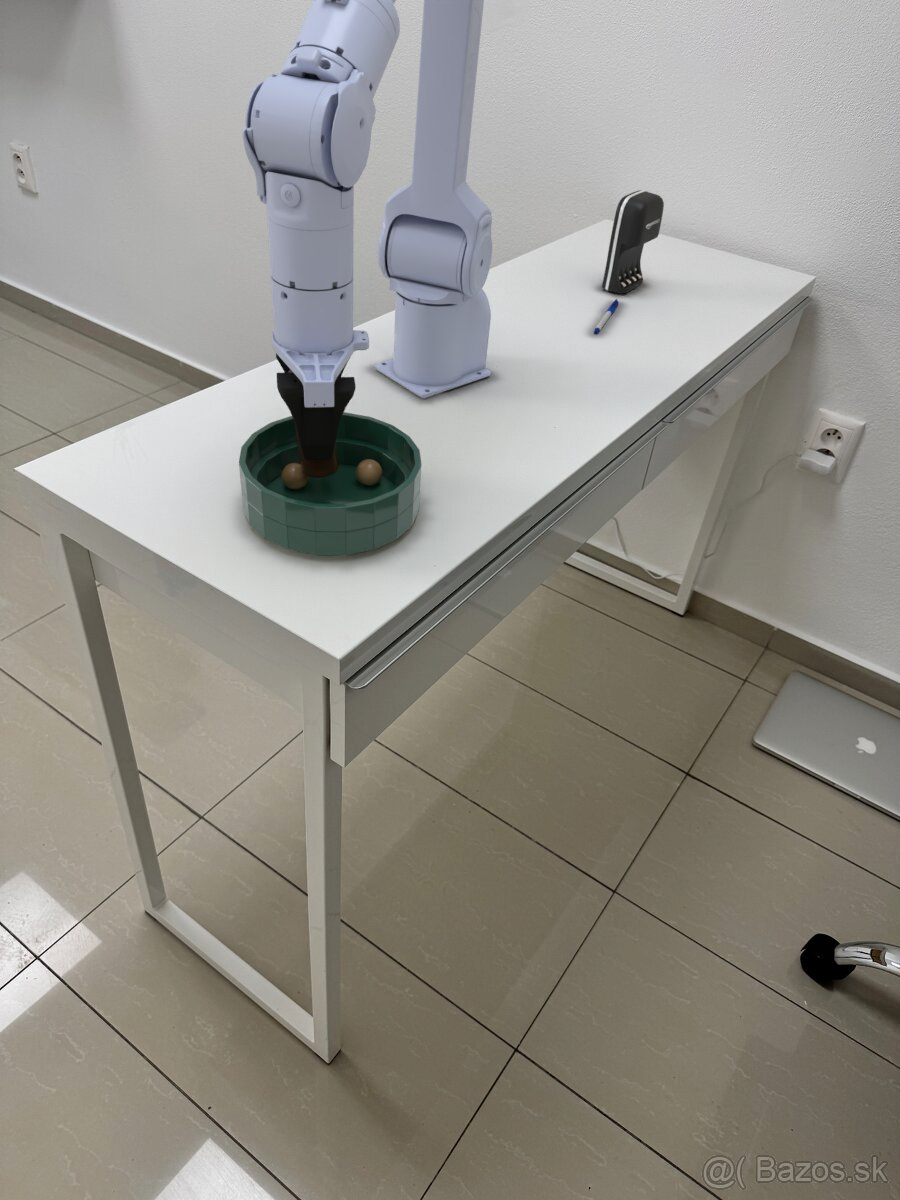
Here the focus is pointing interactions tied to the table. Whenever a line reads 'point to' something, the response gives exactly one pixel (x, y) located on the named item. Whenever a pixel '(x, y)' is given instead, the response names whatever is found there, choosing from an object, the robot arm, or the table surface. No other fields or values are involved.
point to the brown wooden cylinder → (318, 463)
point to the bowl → (332, 489)
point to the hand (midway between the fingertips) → (316, 446)
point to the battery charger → (631, 239)
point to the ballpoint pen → (606, 316)
